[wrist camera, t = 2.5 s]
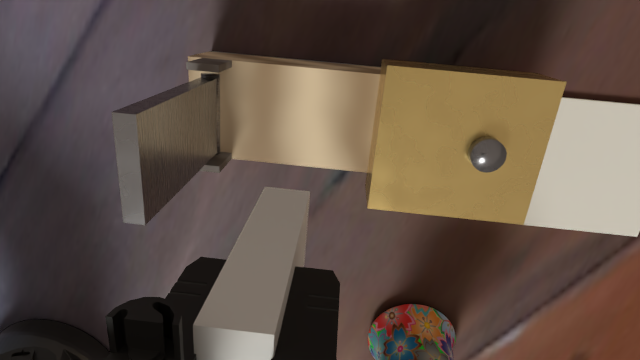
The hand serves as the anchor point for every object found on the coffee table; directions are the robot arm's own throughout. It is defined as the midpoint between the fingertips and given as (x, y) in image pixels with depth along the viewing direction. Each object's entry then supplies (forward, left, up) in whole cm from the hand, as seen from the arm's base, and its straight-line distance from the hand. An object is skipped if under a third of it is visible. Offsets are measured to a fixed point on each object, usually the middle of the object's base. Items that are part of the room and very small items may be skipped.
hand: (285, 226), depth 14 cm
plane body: (+3, 0, -21) cm, 21 cm away
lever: (-7, 0, -15) cm, 16 cm away
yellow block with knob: (+9, 0, -16) cm, 18 cm away
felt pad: (+22, -3, -21) cm, 31 cm away
